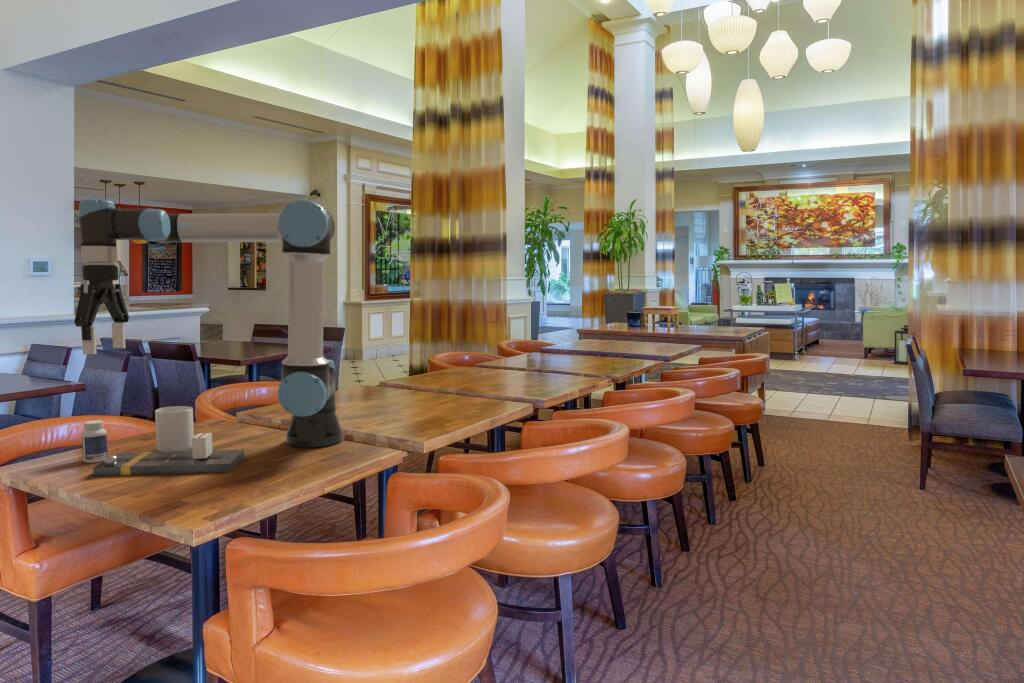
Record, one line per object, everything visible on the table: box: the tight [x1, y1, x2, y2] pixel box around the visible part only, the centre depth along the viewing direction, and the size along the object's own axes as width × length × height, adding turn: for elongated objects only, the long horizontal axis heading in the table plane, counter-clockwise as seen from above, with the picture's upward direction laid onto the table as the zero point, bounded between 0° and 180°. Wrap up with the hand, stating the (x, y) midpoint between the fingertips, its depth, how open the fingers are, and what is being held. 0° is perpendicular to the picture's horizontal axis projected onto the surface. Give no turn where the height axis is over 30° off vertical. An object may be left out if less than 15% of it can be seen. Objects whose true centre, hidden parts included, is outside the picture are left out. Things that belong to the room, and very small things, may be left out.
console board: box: [92, 449, 245, 477], centre depth 165 cm, size 30×13×4 cm, turn 97°
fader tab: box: [192, 432, 213, 459], centre depth 166 cm, size 3×5×5 cm, turn 7°
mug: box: [154, 405, 195, 452], centre depth 181 cm, size 12×9×11 cm
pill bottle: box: [80, 420, 109, 464], centre depth 170 cm, size 5×5×10 cm
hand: (105, 351), depth 169 cm, fingers open, 13 cm apart
